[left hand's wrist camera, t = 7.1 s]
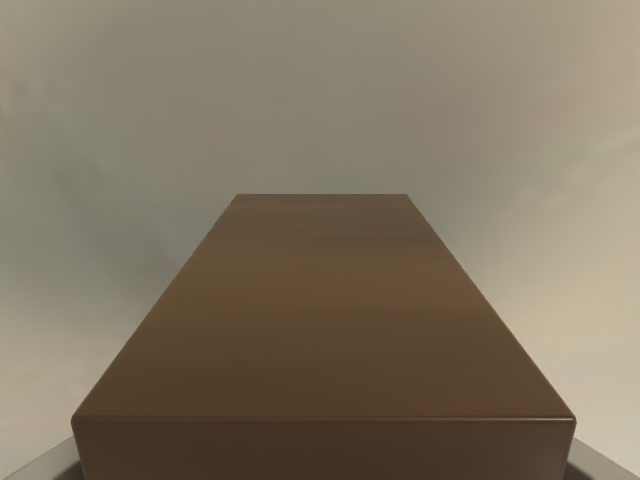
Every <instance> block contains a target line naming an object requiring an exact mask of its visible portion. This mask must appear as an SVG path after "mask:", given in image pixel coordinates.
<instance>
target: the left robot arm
mask: <svg viewBox="0 0 640 480" xmlns="http://www.w3.org/2000/svg"><path fill="white" fill-rule="evenodd" d="M4 480H85V478H84V474H83V470H82V466H81V462H80V458H79V454H78V450H77V446H76V442H75V438H74V436H72V437H70V438H69V439H67V440H66V441H64V442H62V443H61V444H59V445H58V446H56V447H54V448H53V449H51V450H49V451H48V452H46V453H45V454H43V455H41V456H40V457H38V458H37V459H35V460H33V461H32V462H30V463H29V464H27V465H25V466H24V467H22V468H21V469H19V470H17V471H16V472H14V473H13V474H11V475H9V476H8V477H6V478H5V479H4ZM562 480H640V478H639V477H638V476H636V475H634V474H633V473H631V472H630V471H628V470H626V469H625V468H623V467H621V466H620V465H618V464H617V463H615V462H613V461H612V460H610V459H608V458H607V457H605V456H604V455H602V454H600V453H599V452H597V451H596V450H594V449H592V448H591V447H589V446H587V445H586V444H584V443H583V442H581V441H579V440H578V439H576V438H574V437H573V439H572V443H571V447H570V451H569V455H568V459H567V463H566V467H565V471H564V475H563V478H562Z"/></svg>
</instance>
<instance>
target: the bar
mask: <svg viewBox="0 0 640 480" xmlns="http://www.w3.org/2000/svg"><path fill="white" fill-rule="evenodd" d="M576 424H577V422H576V418H575V416H574V414H573V413H572V412H571V410H570V409H569V408H568V406H567V405H566V404H565V402H564V401H563V400H562V398H561V397H560V396H559V395H558V393H557V392H556V391H555V389H554V388H553V387H552V385H551V384H550V383H549V381H548V380H547V379H546V377H545V376H544V375H543V373H542V372H541V371H540V369H539V368H538V367H537V366H536V364H535V363H534V362H533V360H532V359H531V358H530V356H529V355H528V354H527V352H526V351H525V350H524V348H523V347H522V346H521V344H520V343H519V342H518V340H517V339H516V338H515V337H514V335H513V334H512V333H511V331H510V330H509V329H508V327H507V326H506V325H505V323H504V322H503V321H502V319H501V318H500V317H499V315H498V314H497V313H496V312H495V310H494V309H493V308H492V306H491V305H490V304H489V302H488V301H487V300H486V298H485V297H484V296H483V294H482V293H481V292H480V290H479V289H478V288H477V286H476V285H475V284H474V283H473V281H472V280H471V279H470V277H469V276H468V275H467V273H466V272H465V271H464V269H463V268H462V267H461V265H460V264H459V263H458V261H457V260H456V259H455V257H454V256H453V255H452V254H451V252H450V251H449V250H448V248H447V247H446V246H445V244H444V243H443V242H442V240H441V239H440V238H439V236H438V235H437V234H436V232H435V231H434V230H433V229H432V227H431V226H430V225H429V223H428V222H427V221H426V219H425V218H424V217H423V215H422V214H421V213H420V211H419V210H418V209H417V207H416V206H415V205H414V203H413V202H412V201H411V200H410V198H409V197H408V196H407V195H406V194H237V195H236V196H235V198H234V199H233V200H232V202H231V203H230V204H229V206H228V207H227V208H226V210H225V211H224V212H223V214H222V215H221V216H220V218H219V219H218V221H217V222H216V223H215V225H214V226H213V227H212V229H211V230H210V231H209V233H208V234H207V235H206V237H205V238H204V239H203V241H202V242H201V243H200V245H199V246H198V247H197V249H196V250H195V251H194V253H193V254H192V256H191V257H190V258H189V260H188V261H187V262H186V264H185V265H184V266H183V268H182V269H181V270H180V272H179V273H178V274H177V276H176V277H175V278H174V280H173V281H172V282H171V284H170V285H169V286H168V288H167V289H166V291H165V292H164V293H163V295H162V296H161V297H160V299H159V300H158V301H157V303H156V304H155V305H154V307H153V308H152V309H151V311H150V312H149V313H148V315H147V316H146V317H145V319H144V320H143V321H142V323H141V324H140V326H139V327H138V328H137V330H136V331H135V332H134V334H133V335H132V336H131V338H130V339H129V340H128V342H127V343H126V344H125V346H124V347H123V348H122V350H121V351H120V352H119V354H118V355H117V356H116V358H115V359H114V360H113V362H112V363H111V365H110V366H109V367H108V369H107V370H106V371H105V373H104V374H103V375H102V377H101V378H100V379H99V381H98V382H97V383H96V385H95V386H94V387H93V389H92V390H91V391H90V393H89V394H88V395H87V397H86V398H85V400H84V401H83V402H82V404H81V405H80V406H79V408H78V409H77V410H76V412H75V413H74V414H73V416H72V419H71V426H72V430H73V434H74V438H75V442H76V446H77V450H78V454H79V458H80V462H81V466H82V470H83V474H84V478H85V480H562V478H563V475H564V471H565V467H566V463H567V459H568V455H569V451H570V447H571V443H572V439H573V435H574V432H575V428H576Z"/></svg>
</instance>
